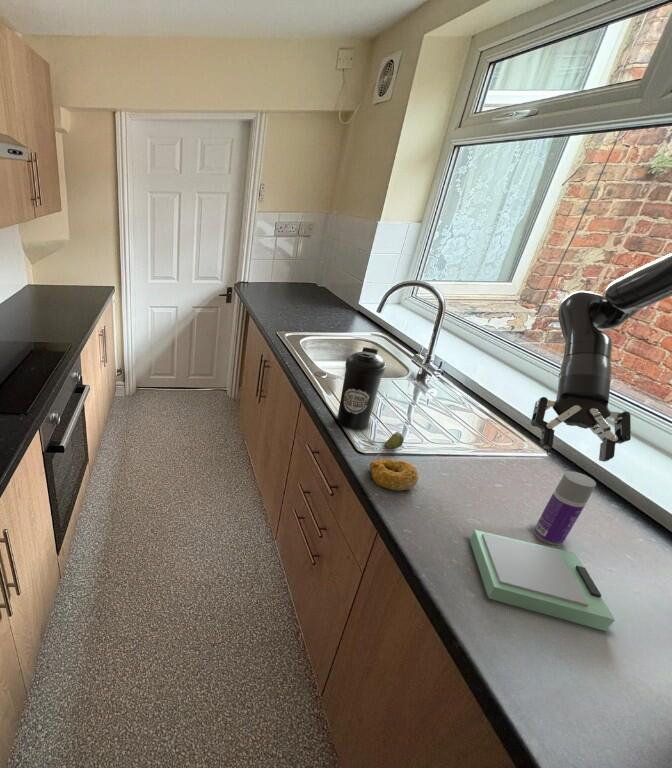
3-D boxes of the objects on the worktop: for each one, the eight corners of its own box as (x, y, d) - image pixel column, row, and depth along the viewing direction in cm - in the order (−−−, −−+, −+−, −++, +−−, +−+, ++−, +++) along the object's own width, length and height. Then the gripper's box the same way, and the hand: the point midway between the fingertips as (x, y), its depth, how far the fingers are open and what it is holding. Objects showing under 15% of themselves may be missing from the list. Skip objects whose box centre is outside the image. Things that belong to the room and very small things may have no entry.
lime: (384, 450, 112) (388, 435, 110) (381, 441, 116) (385, 426, 114) (402, 453, 111) (407, 438, 108) (399, 443, 115) (403, 428, 112)
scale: (568, 564, 79) (577, 551, 77) (606, 631, 67) (616, 617, 66) (469, 540, 84) (475, 527, 83) (488, 598, 73) (495, 584, 71)
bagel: (389, 462, 107) (394, 447, 105) (425, 489, 98) (431, 473, 96) (357, 469, 105) (361, 454, 103) (391, 498, 95) (396, 482, 93)
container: (562, 549, 82) (597, 490, 75) (532, 537, 85) (563, 479, 78) (563, 535, 85) (597, 478, 78) (534, 524, 88) (564, 467, 81)
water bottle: (330, 424, 124) (344, 353, 113) (338, 410, 131) (353, 342, 121) (366, 435, 119) (385, 361, 108) (373, 419, 126) (391, 349, 116)
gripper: (547, 366, 86) (537, 440, 82) (643, 380, 79) (637, 461, 76) (532, 379, 92) (522, 448, 89) (619, 393, 86) (613, 468, 82)
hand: (575, 454), depth 82 cm, fingers open, 8 cm apart
